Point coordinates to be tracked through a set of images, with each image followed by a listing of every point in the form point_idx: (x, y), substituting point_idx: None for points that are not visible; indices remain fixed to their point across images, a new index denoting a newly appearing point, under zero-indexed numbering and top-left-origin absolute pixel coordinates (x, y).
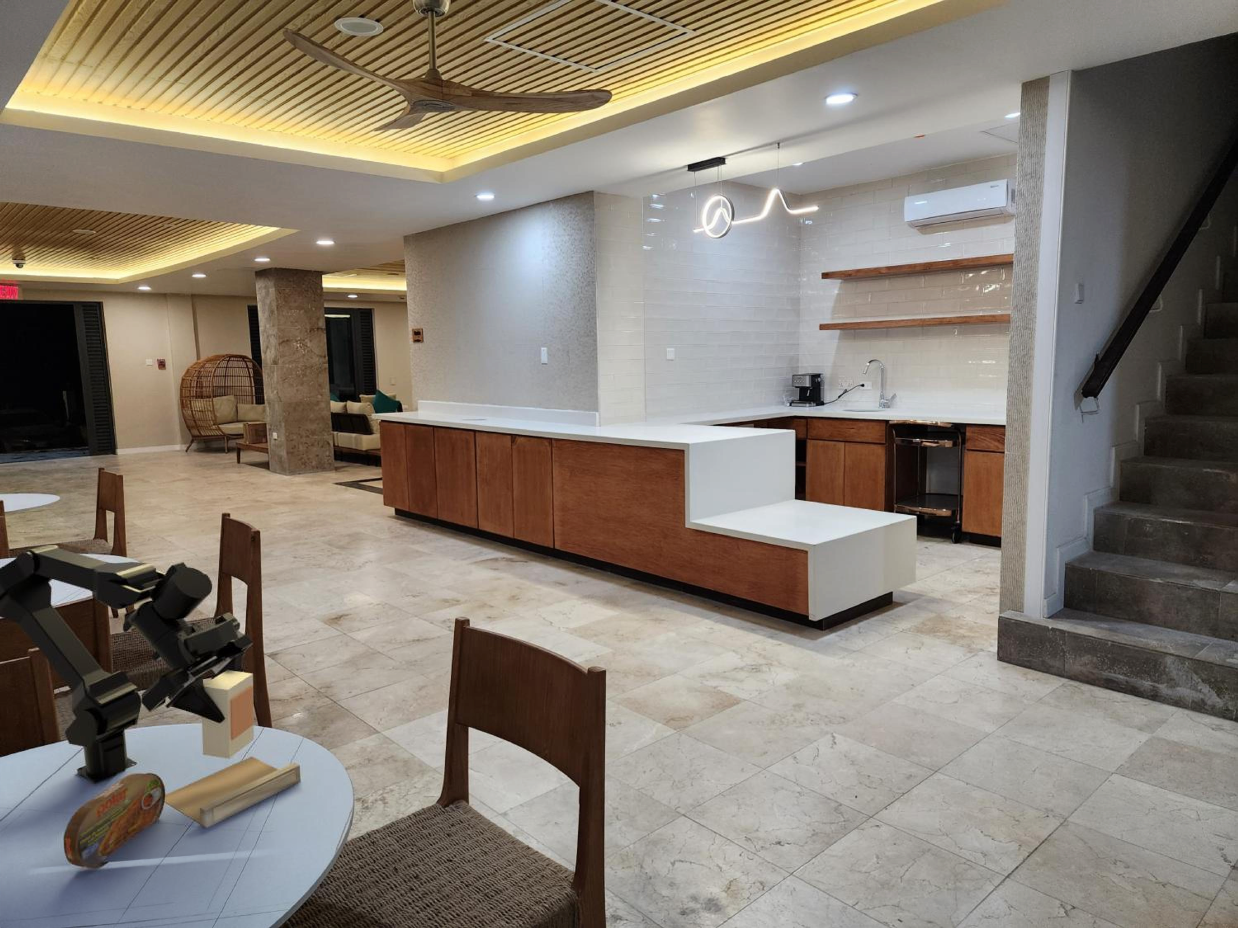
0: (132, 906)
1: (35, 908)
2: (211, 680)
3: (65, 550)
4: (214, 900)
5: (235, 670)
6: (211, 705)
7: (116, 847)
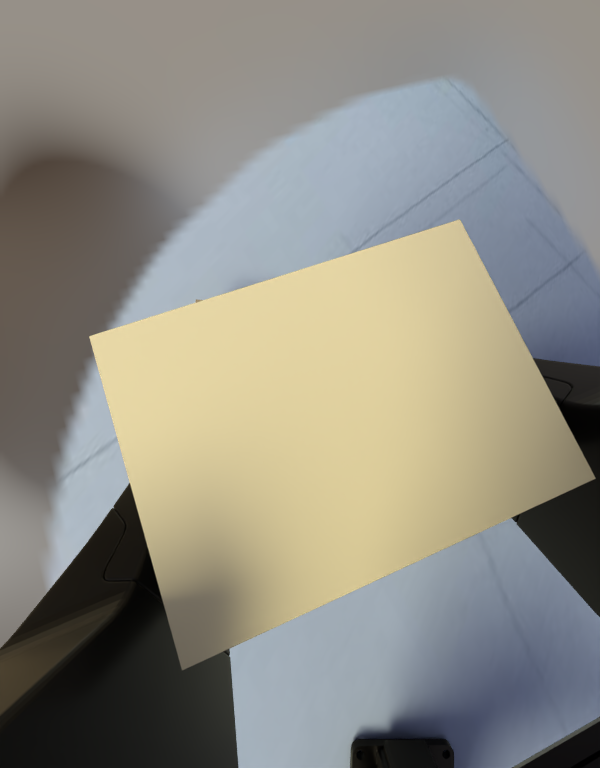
0: (565, 260)
1: None
2: (463, 524)
3: None
4: (491, 173)
5: (113, 602)
6: None
7: None
